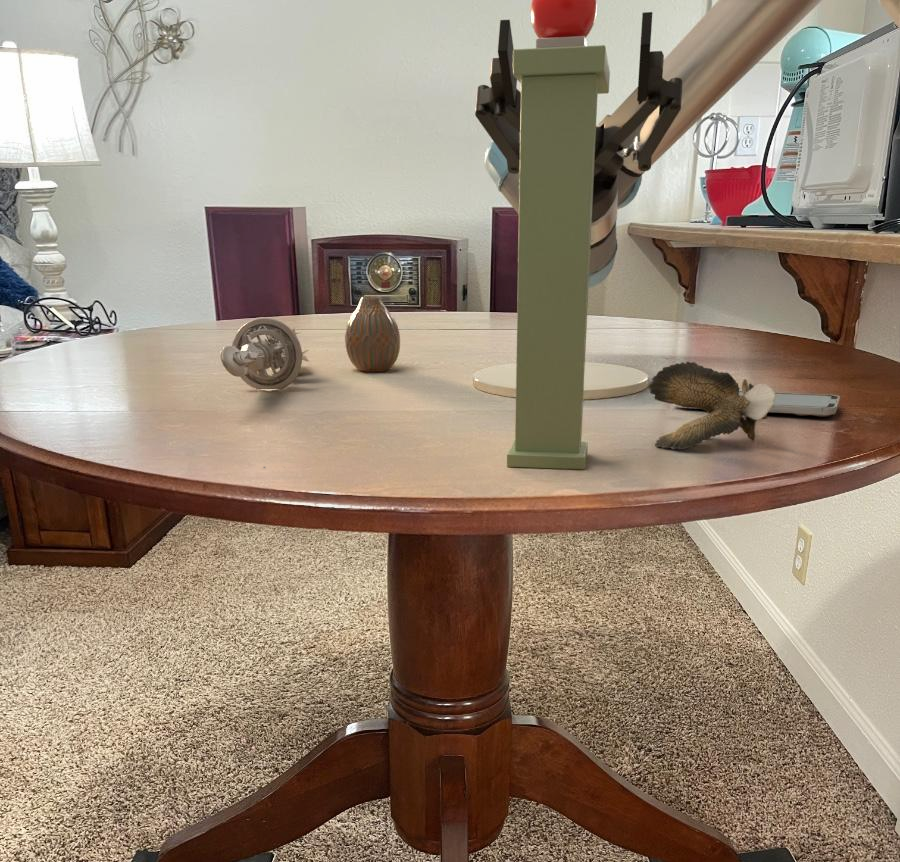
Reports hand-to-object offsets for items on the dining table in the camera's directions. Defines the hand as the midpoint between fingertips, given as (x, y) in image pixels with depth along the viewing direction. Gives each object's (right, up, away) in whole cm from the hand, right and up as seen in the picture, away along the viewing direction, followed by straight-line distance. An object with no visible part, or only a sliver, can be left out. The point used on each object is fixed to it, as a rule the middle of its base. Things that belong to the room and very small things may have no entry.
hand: (574, 31), depth 70 cm
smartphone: (+21, -25, +19) cm, 38 cm away
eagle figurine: (+12, -31, +6) cm, 34 cm away
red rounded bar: (-1, -4, -2) cm, 5 cm away
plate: (+3, -19, +33) cm, 38 cm away
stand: (-1, -32, +5) cm, 32 cm away
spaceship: (-30, -21, +31) cm, 48 cm away
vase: (-19, -15, +44) cm, 50 cm away
